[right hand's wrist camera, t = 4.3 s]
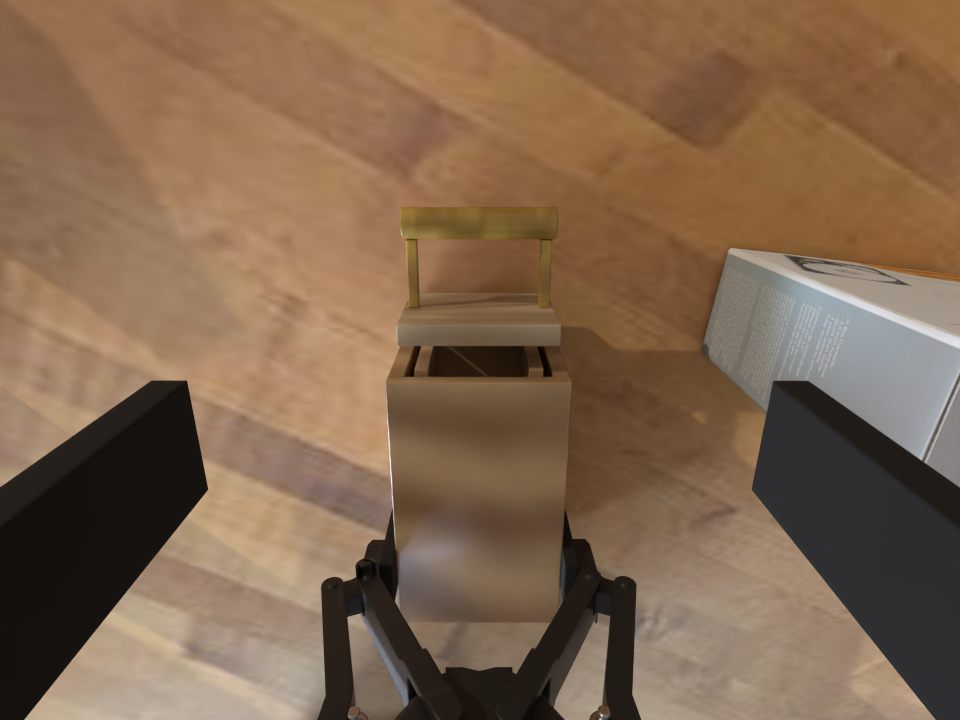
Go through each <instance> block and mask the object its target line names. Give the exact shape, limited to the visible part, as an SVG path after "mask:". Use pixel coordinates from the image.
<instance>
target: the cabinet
mask: <svg viewBox="0 0 960 720" xmlns="http://www.w3.org/2000/svg"><path fill="white" fill-rule="evenodd" d="M537 349H538V353H539V356H540V359H541V363H542V366H543V370H544V374H543V377H414V370H415V366H416V363H417V360H418V356H419V353H420V350H421V346H400V348H399V351H398V353H397V356H396V358H395V361H394V363H393V366H392V368H391V371H390V373H389V376H388V378H387V380H386V383H385V390H386V406H387V422H388V438H389V455H390V471H391V487H392V503H393V519H394V536H395V549H396V566H397V582H398V601H399V610H400V612H401V613H402V615H403V617H404V619H405V620H406V622H552V620H553V618H554V616H555V615H556V613H557V611H558V607H559V592H560V575H561V559H562V544H563V528H564V512H565V496H566V480H567V464H568V448H569V433H570V417H571V401H572V385H573V384H572V381H571V379H570V376H569V373H568V371H567V368H566V366H565V363H564V361H563V358H562V356H561V353H560V351H559V348H558V346H537Z"/></svg>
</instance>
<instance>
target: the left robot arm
mask: <svg viewBox="0 0 960 720" xmlns="http://www.w3.org/2000/svg"><path fill="white" fill-rule="evenodd" d="M355 567H356V578H354V579H352V580H349V581H345V582H343V580H342V579H341V578H338V577H331V578H328V579H327V580H325V581H324V582H323V583H322V586H321V595H322V618H323V641H324V665H325V688H326V697H325V700H324V702H323V705H322V708H321V711H320V714H319V717H318V719H317V720H368V717H367V716H366V715H365V714H364V713H362V712H360V709H359V708H358V707H356V704H355V693H354V683H353V672H352V662H351V652H350V641H349V631H348V620H347V617H348V616H352V615H356V614H361V616H362V618H363V620H364V622H365V624H366V626H367V628H368V630H369V633H370V635H371V637H372V639H373V641H374V643H375V645H376V647H377V649H378V651H379V653H380V655H381V657H382V659H383V661H384V663H385V665H386V667H387V669H388V671H389V673H390V675H391V677H392V679H393V681H394V683H395V685H396V687H397V689H398V691H399V693H400V695H401V697H402V700H403V704H404V709H403V710H402V711H401V712H400V714H399V715H398V716H397V717H396V718H395V719H394V720H564V719H563V717H562V716H561V715H560V714H559V713H558V712H557V711H556V710H555V709H554V704H555V700H556V697H557V695H558V693H559V691H560V689H561V687H562V685H563V683H564V680H565V678H566V676H567V674H568V672H569V670H570V668H571V666H572V664H573V662H574V660H575V658H576V656H577V654H578V652H579V650H580V648H581V646H582V644H583V642H584V640H585V638H586V636H587V634H588V632H589V630H590V628H591V626H592V624H593V622H594V619H595V623H597V617H598V613H601V614H605V615H609V616H610V626H609V637H608V648H607V659H606V669H605V680H604V691H603V702H602V705H601V706H600V707H599V708H598V711H595V712H594V713H593V714H592V715H591V716H590V720H641V718H640V715H639V712H638V710H637V707H636V704H635V701H634V698H633V696H632V685H633V660H634V635H635V609H636V583H635V581H634V580H633V579H631V578H629V577H626V576H620V577H617V578H616V579H615V580H614V581H612V580H608V579H605V578H604V577H602V576H601V574H600V573H599V572H598V571H597V568H596V565H595V561H594V558H593V554H592V551H591V547H590V544H589V543H588V542H587V541H586V540H585V539H572V535H571V531H570V527H569V523H568V519H567V514H566V510H565V512H564V528H563V544H562V559H561V575H560V588H561V594H562V599H563V603H562V604H561V606H560V608H559V609H558V611H557V613H556V615H555V616H554V618H553V620H552V622H551V623H550V625H549V627H548V628H547V630H546V632H545V634H544V635H543V637H542V639H541V640H540V642H539V644H538V646H537V647H536V649H534V648H532V649H531V650H530V652H529V654H528V655H527V657H526V659H525V660H524V662H523V664H522V665H521V667H520V669H519V671H518V672H517V674H515V673H513V672H512V667H495V668H491V669H487V670H482V671H476V670H471V669H467V668H463V667H446V673H443V674H441V672H440V671H439V669H438V667H437V666H436V664H435V662H434V661H433V659H432V657H431V655H430V654H429V652H428V651H427V649H425V648H424V649H422V648H421V646H420V644H419V642H418V641H417V639H416V637H415V636H414V634H413V632H412V631H411V629H410V627H409V625H408V624H407V622H406V620H405V619H404V617H403V615H402V613H401V612H400V610H399V608H398V607H397V605H396V603H395V597H396V592H397V586H398V582H397V566H396V549H395V536H394V519H393V508H392V512H391V517H390V521H389V525H388V529H387V534H386V538H385V540H372V541H371V542H370V543H369V544H368V546H367V550H366V553H365V557H364V559H362V560H360V561H358V562H357V563H356V566H355Z"/></svg>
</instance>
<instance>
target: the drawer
mask: <svg viewBox="0 0 960 720" xmlns="http://www.w3.org/2000/svg"><path fill="white" fill-rule="evenodd" d="M400 231H401V237H402V239H407V240H406V256H407V278H408V302H407V304H406V306H405V308H404V310H403V312H402V314H401V317H400V319H399V321H398V323H397V325H396V332H397V346H421V350H420V353H419V356H418V360H417V363H416V366H415V370H414V377H543V374H544V370H543V366H542V363H541V359H540V356H539V353H538V349H537V346H560V345H561V329H562V326H561V323H560V321H559V319H558V317H557V315H556V313H555V311H554V308H553V306H552V304H551V302H550V279H551V256H552V240H551V239H556V237H557V231H558V211H557V208H556V207H402V208H401V211H400ZM417 239H541V243H540V270H539V293H419V270H418V243H417Z"/></svg>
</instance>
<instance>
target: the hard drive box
mask: <svg viewBox="0 0 960 720" xmlns="http://www.w3.org/2000/svg"><path fill="white" fill-rule="evenodd" d="M702 353H703V354H704V355H705V356H706V357H707V358H708V359H709V360H710V361H711V362H712V363H713V364H714V365H716V366H717V367H718V368H719V369H720V370H721V371H722V372H723V373H724V374H725V375H726V376H728V377H729V378H730V379H731V380H732V381H733V382H734V383H735V384H736V385H737V386H738V387H739V388H740V389H741V390H742V391H743V392H745V393H746V394H747V395H748V396H749V397H750V398H751V399H752V400H753V401H754V402H756V403H757V404H758V405H759V406H760V407H761V408H762V409H763V410H764V411H765V412H766V413H767V409H768V404H769V399H770V394H771V389H772V384H773V381H809V382H811V383H812V384H814V385H815V386H817V387H818V388H819V389H821V390H822V391H824V392H825V393H826V394H828V395H829V396H831V397H832V398H834V399H835V400H836V401H838V402H839V403H841V404H842V405H844V406H845V407H846V408H848V409H849V410H851V411H852V412H853V413H855V414H856V415H858V416H859V417H861V418H862V419H863V420H865V421H866V422H868V423H869V424H870V425H872V426H873V427H875V428H876V429H878V430H879V431H880V432H882V433H883V434H885V435H886V436H888V437H889V438H890V439H892V440H893V441H895V442H896V443H897V444H899V445H900V446H902V447H903V448H905V449H906V450H907V451H909V452H910V453H912V454H913V455H915V456H916V457H917V458H919V459H920V460H922V461H923V462H924V463H926V464H927V465H929V466H930V467H932V468H933V469H934V470H936V471H937V472H939V473H940V474H942V475H943V476H944V477H946V478H947V479H949V480H950V481H951V482H953V483H954V484H956V485H957V486H959V487H960V276H959V275H954V274H947V273H940V272H932V271H922V270H914V269H906V268H897V267H889V266H881V265H873V264H865V263H856V262H848V261H840V260H831V259H823V258H815V257H807V256H799V255H790V254H782V253H773V252H764V251H754V250H746V249H738V248H730V249H729V251H728V254H727V258H726V261H725V265H724V268H723V272H722V276H721V279H720V283H719V287H718V290H717V294H716V297H715V301H714V305H713V309H712V312H711V316H710V319H709V323H708V327H707V331H706V335H705V339H704V343H703V347H702Z"/></svg>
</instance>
